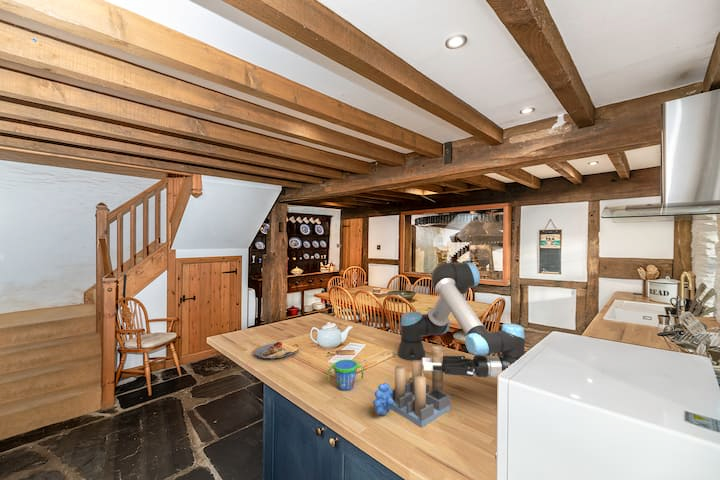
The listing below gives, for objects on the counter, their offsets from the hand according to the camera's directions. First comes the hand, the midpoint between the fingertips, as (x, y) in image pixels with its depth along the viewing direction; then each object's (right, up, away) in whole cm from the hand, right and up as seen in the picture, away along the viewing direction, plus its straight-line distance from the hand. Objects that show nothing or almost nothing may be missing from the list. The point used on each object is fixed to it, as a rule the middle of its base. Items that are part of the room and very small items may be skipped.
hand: (423, 363), depth 116 cm
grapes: (-15, -18, -4) cm, 23 cm away
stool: (-2, -17, 0) cm, 17 cm away
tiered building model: (+1, -18, +17) cm, 25 cm away
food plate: (-72, -18, +57) cm, 93 cm away
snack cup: (-31, -17, +17) cm, 39 cm away
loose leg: (+5, -9, -1) cm, 10 cm away
